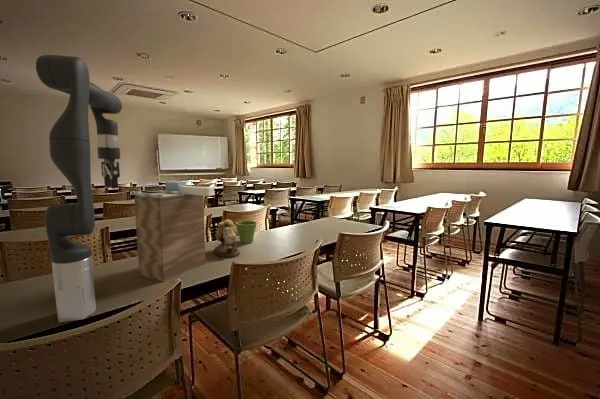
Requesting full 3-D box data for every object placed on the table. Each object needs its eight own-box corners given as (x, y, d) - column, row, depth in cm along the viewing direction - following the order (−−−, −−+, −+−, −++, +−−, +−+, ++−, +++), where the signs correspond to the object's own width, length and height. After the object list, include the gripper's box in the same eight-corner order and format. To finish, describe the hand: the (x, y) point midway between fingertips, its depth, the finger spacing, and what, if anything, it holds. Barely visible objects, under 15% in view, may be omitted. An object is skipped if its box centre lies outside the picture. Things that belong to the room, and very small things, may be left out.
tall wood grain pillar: (205, 263, 132) (203, 189, 127) (163, 281, 112) (159, 195, 107) (182, 258, 137) (179, 188, 133) (139, 275, 118) (134, 192, 113)
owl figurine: (207, 250, 150) (206, 217, 148) (229, 246, 158) (228, 215, 156) (222, 260, 137) (222, 224, 134) (245, 255, 144) (245, 221, 142)
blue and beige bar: (215, 195, 120) (215, 183, 119) (207, 196, 116) (207, 184, 115) (174, 191, 129) (174, 181, 129) (166, 192, 125) (165, 182, 125)
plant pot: (258, 244, 162) (257, 224, 161) (236, 245, 160) (235, 225, 158) (256, 238, 173) (256, 220, 172) (235, 239, 171) (235, 220, 169)
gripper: (92, 147, 118) (95, 187, 120) (102, 145, 109) (106, 189, 111) (113, 148, 124) (116, 186, 126) (125, 146, 114) (127, 188, 116)
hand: (111, 187), depth 118 cm, fingers open, 8 cm apart
